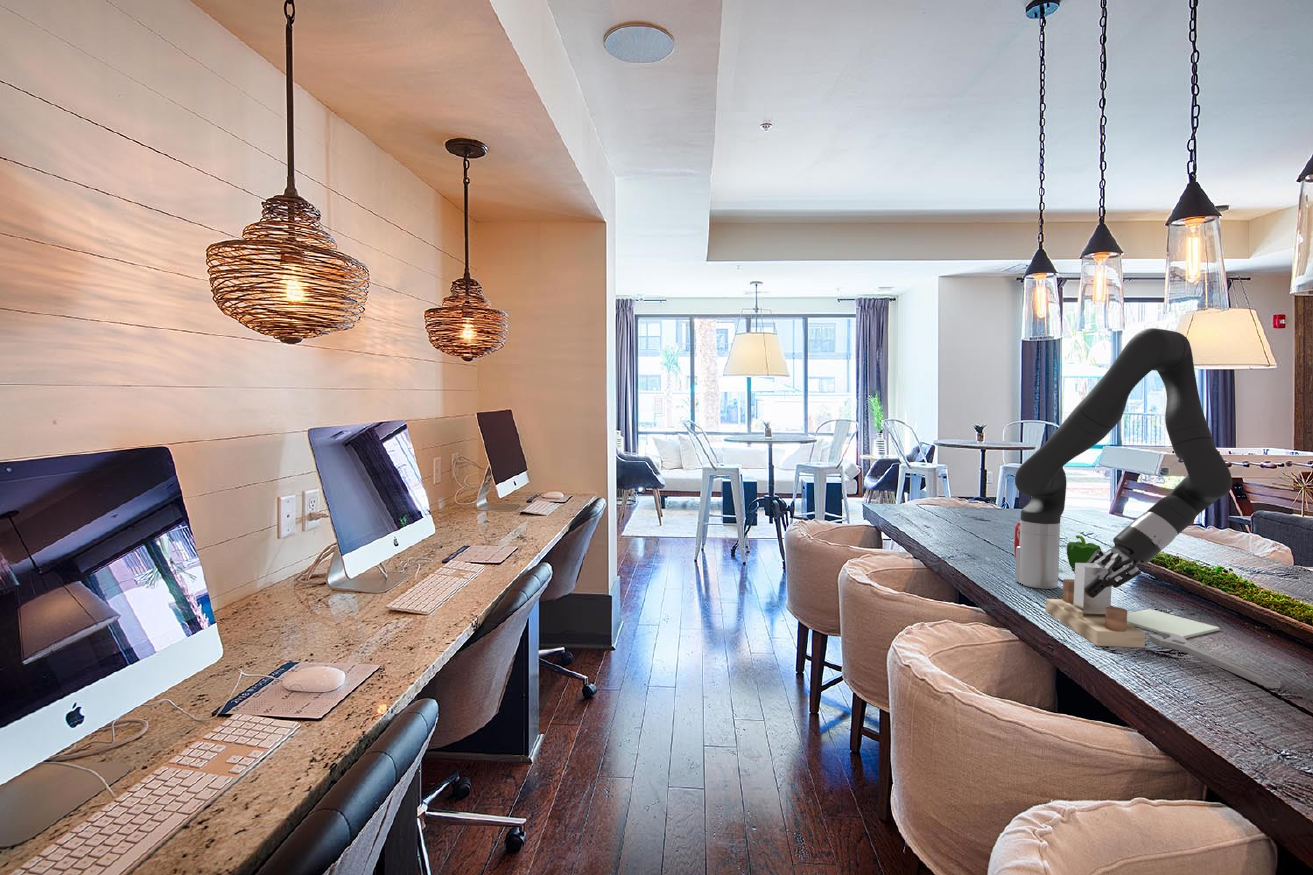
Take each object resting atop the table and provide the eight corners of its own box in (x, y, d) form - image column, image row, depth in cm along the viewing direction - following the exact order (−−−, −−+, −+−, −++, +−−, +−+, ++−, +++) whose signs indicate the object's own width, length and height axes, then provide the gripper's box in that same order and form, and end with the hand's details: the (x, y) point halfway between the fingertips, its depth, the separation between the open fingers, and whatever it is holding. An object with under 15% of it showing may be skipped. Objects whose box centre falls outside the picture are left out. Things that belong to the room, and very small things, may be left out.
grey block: (1073, 607, 147) (1075, 562, 146) (1099, 608, 146) (1101, 563, 146) (1082, 613, 143) (1084, 567, 142) (1110, 614, 143) (1112, 568, 142)
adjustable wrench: (1285, 691, 115) (1286, 681, 115) (1248, 692, 114) (1249, 682, 114) (1170, 638, 140) (1170, 630, 139) (1139, 638, 139) (1140, 630, 139)
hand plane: (1045, 611, 156) (1046, 577, 156) (1086, 612, 155) (1087, 578, 155) (1096, 645, 134) (1098, 606, 134) (1144, 647, 133) (1146, 608, 133)
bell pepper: (1105, 574, 189) (1106, 540, 188) (1073, 573, 191) (1074, 538, 190) (1092, 567, 197) (1093, 534, 197) (1061, 566, 199) (1062, 533, 198)
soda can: (1043, 563, 202) (1044, 524, 201) (1018, 562, 203) (1019, 523, 203) (1035, 558, 209) (1036, 520, 208) (1010, 557, 210) (1011, 519, 210)
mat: (1111, 619, 151) (1111, 616, 151) (1149, 611, 156) (1149, 608, 156) (1180, 639, 138) (1180, 636, 138) (1219, 630, 144) (1219, 627, 144)
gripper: (1113, 518, 150) (1054, 570, 152) (1153, 531, 136) (1087, 588, 138) (1137, 542, 150) (1077, 594, 152) (1180, 558, 136) (1113, 614, 138)
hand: (1082, 591), depth 145 cm, fingers closed on grey block, 4 cm apart
